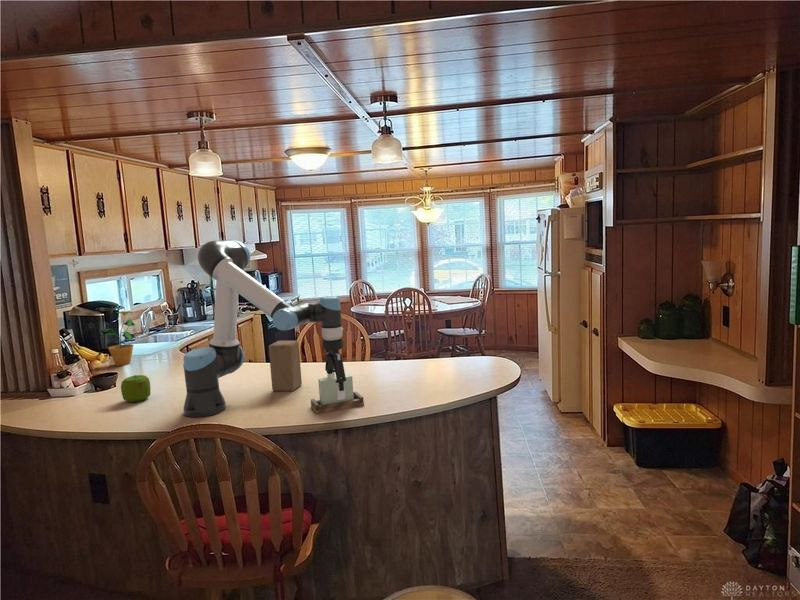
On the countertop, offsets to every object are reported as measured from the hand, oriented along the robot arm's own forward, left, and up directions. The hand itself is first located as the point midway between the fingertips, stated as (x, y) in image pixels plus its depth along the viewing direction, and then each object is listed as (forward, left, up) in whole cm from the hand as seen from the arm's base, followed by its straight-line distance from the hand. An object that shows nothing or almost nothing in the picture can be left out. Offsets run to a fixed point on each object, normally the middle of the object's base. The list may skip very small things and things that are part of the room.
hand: (336, 394), depth 199 cm
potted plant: (-84, +137, -5) cm, 161 cm away
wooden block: (-12, +35, -5) cm, 38 cm away
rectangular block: (0, 0, -3) cm, 3 cm away
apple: (-71, +54, -5) cm, 89 cm away
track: (0, 0, -4) cm, 4 cm away
